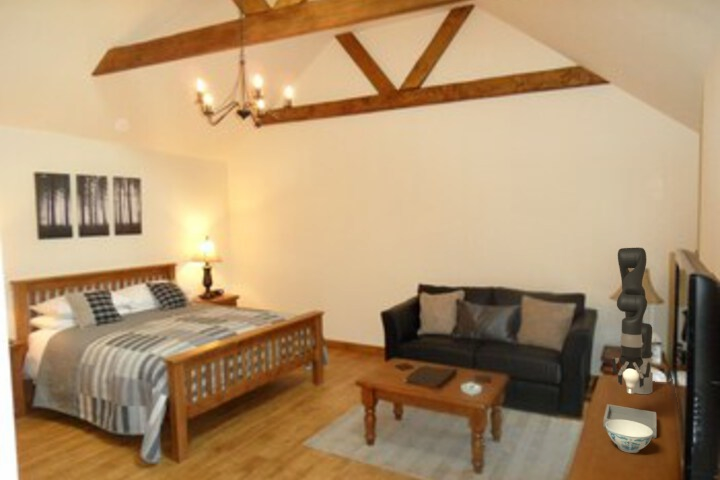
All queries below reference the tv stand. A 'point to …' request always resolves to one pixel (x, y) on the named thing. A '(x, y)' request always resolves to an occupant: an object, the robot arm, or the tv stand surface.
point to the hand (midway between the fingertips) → (630, 385)
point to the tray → (630, 416)
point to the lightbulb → (630, 379)
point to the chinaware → (629, 435)
